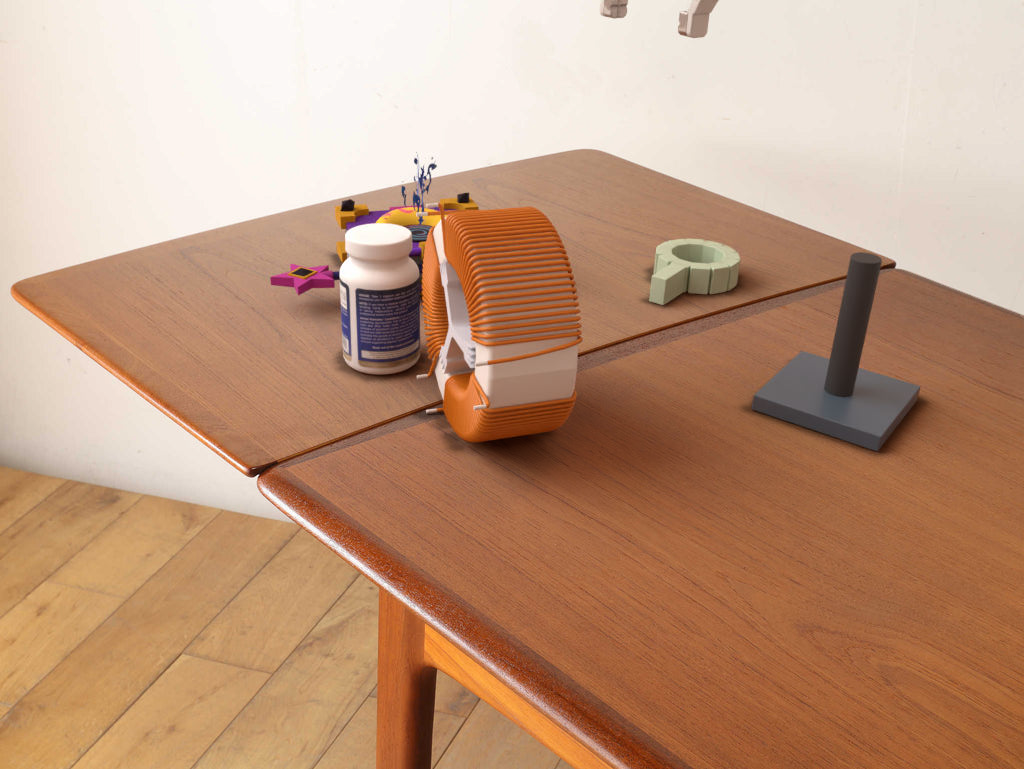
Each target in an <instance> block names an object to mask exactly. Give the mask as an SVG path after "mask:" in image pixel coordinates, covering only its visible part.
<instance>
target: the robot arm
mask: <svg viewBox="0 0 1024 769" xmlns="http://www.w3.org/2000/svg"><path fill="white" fill-rule="evenodd" d="M719 1H720V0H692V1H691V3H690V5H689V7H688V9H687V10H681V11H679V14H678V15H679V16H678V23H679V24H678V26H677V33H678V34H679V35H680V36H683V37H687V38H691V39H699V38H704V37H706V35H707V34H708V30H709V21H710V14H711V13H712V12H713V11H714V9H715V7H716V5H717V4H718V2H719ZM599 3H600V4H599V14H600V15H601V17H605V18H610V19H624V18H625V17H626V16H627V14H628V8H627V6H628V4H629V0H600V1H599Z"/></svg>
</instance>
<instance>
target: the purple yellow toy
mask: <svg viewBox="0 0 1024 769" xmlns="http://www.w3.org/2000/svg"><path fill="white" fill-rule="evenodd" d="M415 153H416V154H417V155H416V157H414V159H413V163H414V165H416V167H418V166H420V163H419V162H420V161H419V153H418V152H417V151H416V152H415ZM424 159H427V158H426V157H425V158H424ZM431 160H434V157H433V156H432V157H431ZM437 167H438V165H437V164H436V161H434V162H433V163H429V164H428V167H427V172H426V174H425V164H423V165H422V166H420V169H417V175H414V177H413V181H414V182H415V185H416V186H417V187H416V188H415V191H416V192H415V191H413V194H412V205H407V202H406V201H407V194H406V193H405V191H406V186H404V185H401V196H402V198H403V205H400V206H389V208H388V209H385V210H383V209H382V210H369V207H368V206H367V204H366V203H365V204H355V203H356V201H355V200H353V199H351V198H349V199H345V200H342V201H341V205H335V206H334V216H335V217H334V218H335V221H336V222H337V225H338V226H339V228H340V230H344V234H345V235H346V232H347V231H348V230H350V229H351V228H354V227H356V226H360V225H365V224H373V223H387V224H395V225H400V226H403V227H405V228H407V229H409V230H410V231H411V233H412V251H411V252H410V254H409V257H410V258H411V259H412V260H413V261H414V262H415V263H416V264H417V266H418V269H419V277H420V297H421V298H422V297H423V294H422V291H423V289H422V285H423V283H422V279H423V278H422V274H423V272H422V269H423V259H424V250H425V245H426V241H427V237H428V233H429V230H430V228H432V227H433V226H436V225H437V224H438V223H439V221H440V220H441V215H434V216H419V217H417V216H416V213H421V212H434V211H440V209H439V207H432V208H427V207H425V205H424V193H425V192H426V194H427V195H428V194H429V189H430V185H431V184H432V173H431V171H434V170H435V169H436V168H437ZM430 169H431V171H430ZM420 171H421V173H420ZM427 176H428V177H429V183H428V185H426V184H425V183H424V181H427V180H428V179H427V178H428V177H427ZM416 179H417V180H416ZM402 183H404V180H402ZM419 190H420V191H421V192H420V194H421V197H420V195H419ZM456 195H457V196H456V197H449V198H440V199H439V203H440V204H441V205H442V206H443V208H444V211H449V210H480V208H479V207H480V206H479V205H478V204H477V203H476V202H475V201H474V200H473V199H472V198H471V196H470V192H463V193H458V194H456ZM435 200H436V198H435ZM444 216H445V217H447V216H448V215H444ZM345 235H344V236H345ZM336 253H337V255H338V258H339V259H340V261H341V263H342V264H343V263H344V262H345V261H346V260H347V259H348V258H349V257H350V255H349V254H348V253H347V252H346V250H345V240H343V241H336ZM289 265H290V266H289V268H290V271H287V272H283V273H280V274H279V273H278V274H275V275H272V276H270V277H269V278H270V279H269V280H270V285H271V286H276V287H284V288H285V287H286V288H293V289H294V290H295V292H296V294H297V296H301V295H302V294H305V293H306V292H308V291H310V290H312V289H335V287H336V284H335V281H340V270H335V271H333V270H332V269H331V270H330V267H329V264H326V265H319V266H311V267H306V266H302V265H298V264H294V263H292V262H291V263H289Z"/></svg>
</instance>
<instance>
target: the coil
mask: <svg viewBox="0 0 1024 769" xmlns="http://www.w3.org/2000/svg"><path fill="white" fill-rule="evenodd" d="M432 207H439V209H440V211H434V212H421V213H416V216H417V217H419V216H434V215H441V220H440V221H439V223H438V224H437V225H436V226H433V227H432V228H430V230H429V233H428V237H427V241H426V245H425V250H424V259H423V269H422V272H423V274H422V278H423V279H422V283H423V285H422V289H423V291H422V294H423V297H422V296H421V300H422V301H423V302H422V303H421V304H422V307H423V308H422V312H423V314H422V318H424V320H423V324H425V325H424V327H423V329H424V330H425V332H424V335H425V336H427V337H426V338H425V341H426V342H427V343H426V346H425V347H426V348H428V350H427V354H429V355H428V360H431V361H432V363H431V366H430V369H429V371H428V373H426V374H418V375H416V379H417V380H421V379H427V378H431V377H432V375H433V374H434V373H435V377H436V382H437V385H438V389H439V392H440V395H441V398H442V407H437V408H430V409H426V410H425V413H426V414H432V413H440V412H441V413H442V412H443V413H444V415H445V418H446V420H447V422H448V423H449V425H450V427H451V428H452V430H453V431H454V433H456V435H457V437H458V438H460V439H462V440H463V441H465V442H467V443H468V442H469V443H472V444H473V443H481V442H482V443H483V442H488V441H495V440H501V439H508V438H515V437H521V436H527V435H535V434H542V433H549V432H553V431H555V430H558V429H559V428H560V427H562V425H564V423H565V422H566V421H567V420H568V418H569V417H570V415H571V413H572V411H573V408H574V406H575V403H576V399H577V396H578V394H577V391H576V389H575V386H576V380H577V374H578V362H579V360H578V358H579V357H578V356H579V344H580V343H582V342H583V340H584V338H583V337H582V336H581V335H582V334H583V332H582V330H581V328H582V323H579V321H581V320H582V318H581V316H580V315H579V316H578V315H577V314H580V312H581V310H580V309H579V308H577V307H579V306H580V303H579V301H577V300H578V299H579V295H577V294H576V293H577V291H578V289H577V288H576V287H575V285H576V282H575V281H574V279H575V276H574V274H572V273H573V269H572V267H571V262H570V260H569V258H570V257H569V256H568V255H567V250H566V249H565V245H564V244H563V240H562V239H561V236H560V235H559V233H558V230H557V228H556V227H555V225H554V224H553V222H552V221H551V220H550V219H549V217H547V215H546V214H545V213H544V212H542V210H540V209H538V208H536V207H533V206H521V207H520V206H519V207H506V208H496V209H495V208H494V209H479V210H449V211H444V208H443V206H442V205H441V204H440V202H432V203H426V204H425V208H432ZM444 215H448V216H447V217H445V216H444Z"/></svg>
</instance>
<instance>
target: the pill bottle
mask: <svg viewBox="0 0 1024 769" xmlns="http://www.w3.org/2000/svg"><path fill="white" fill-rule="evenodd" d="M344 241H345V250H346V252H347V253H348V254H349V255H350V257H349V258H348V259H347V260H346V261H345V262H344V263H342V264H341V266H340V268H339V271H340V280H339V295H340V299H339V300H340V301H339V302H340V320H341V322H340V323H341V341H342V342H341V344H342V356H343V360H344V361H345V363H346V364H347V366H349V367H350V368H351V369H353V370H355V371H357V372H360V373H364V374H369V375H392V374H398V373H401V372H404V371H406V370H408V369H410V368H411V367H413V366H415V364H416V363H417V362H418V361H419V359H420V356H421V295H420V277H419V269H418V266H417V264H416V263H415V262H414V261H413V260H412V259H411V258H410V257H409V254H410V252H411V251H412V233H411V231H410V230H409V229H407V228H405V227H403V226H400V225H395V224H387V223H373V224H365V225H360V226H356V227H354V228H351V229H350V230H348V231H347V232H346V235H344Z"/></svg>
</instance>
